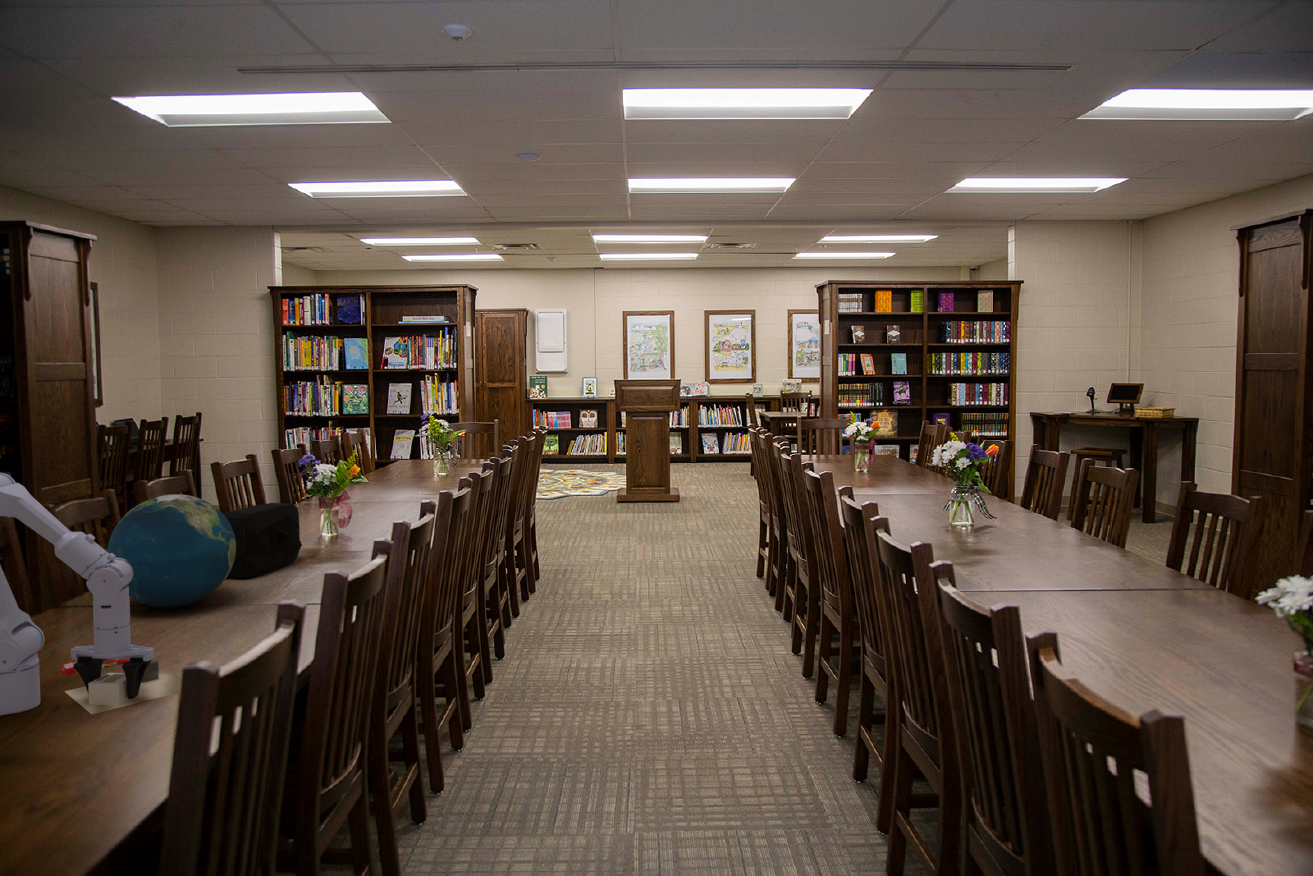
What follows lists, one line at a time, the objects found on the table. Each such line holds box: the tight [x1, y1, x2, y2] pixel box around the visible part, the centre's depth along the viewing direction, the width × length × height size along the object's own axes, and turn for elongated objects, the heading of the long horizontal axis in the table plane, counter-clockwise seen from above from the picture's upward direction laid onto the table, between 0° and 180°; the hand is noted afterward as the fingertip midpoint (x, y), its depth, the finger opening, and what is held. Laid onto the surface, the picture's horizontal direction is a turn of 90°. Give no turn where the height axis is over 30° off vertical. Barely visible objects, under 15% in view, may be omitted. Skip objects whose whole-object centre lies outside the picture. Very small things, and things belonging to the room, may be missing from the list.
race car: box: [59, 659, 130, 676], centre depth 176 cm, size 13×5×4 cm, turn 137°
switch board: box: [64, 660, 182, 715], centre depth 163 cm, size 18×16×5 cm
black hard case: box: [222, 502, 303, 579], centre depth 267 cm, size 30×12×20 cm, turn 171°
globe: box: [107, 493, 236, 609], centre depth 225 cm, size 30×30×30 cm
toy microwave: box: [88, 672, 129, 705], centre depth 158 cm, size 6×6×4 cm
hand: (113, 696), depth 158 cm, fingers open, 7 cm apart
